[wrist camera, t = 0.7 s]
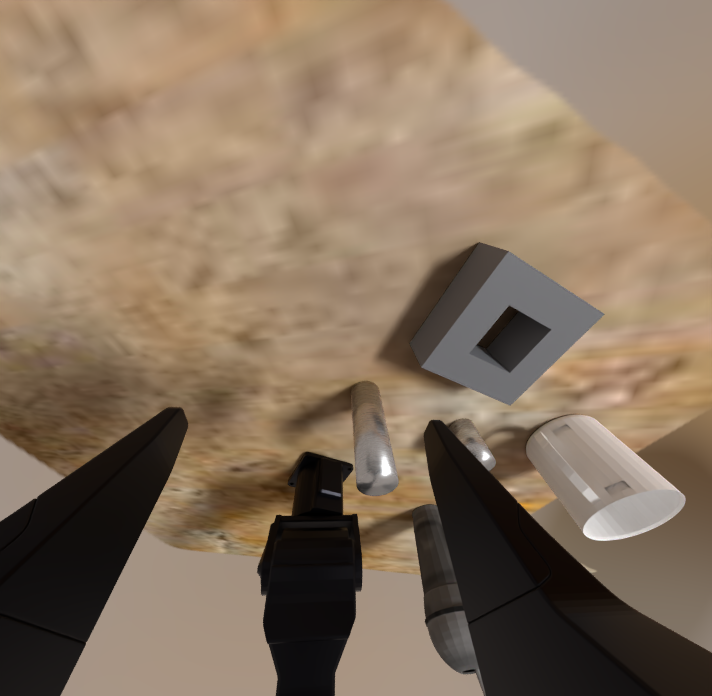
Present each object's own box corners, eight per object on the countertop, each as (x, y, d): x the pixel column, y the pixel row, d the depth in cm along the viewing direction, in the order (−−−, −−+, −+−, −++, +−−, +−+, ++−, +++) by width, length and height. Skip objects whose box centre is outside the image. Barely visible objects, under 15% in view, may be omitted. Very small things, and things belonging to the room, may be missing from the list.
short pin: (462, 439, 32) (482, 477, 27) (443, 432, 31) (460, 470, 26) (478, 423, 30) (502, 460, 26) (459, 415, 30) (479, 452, 25)
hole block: (488, 379, 27) (510, 405, 24) (409, 343, 24) (421, 367, 21) (564, 296, 23) (604, 314, 19) (479, 242, 20) (508, 251, 17)
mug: (608, 435, 33) (696, 511, 25) (543, 470, 36) (602, 548, 28) (569, 387, 28) (660, 462, 20) (498, 432, 31) (554, 513, 23)
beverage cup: (406, 500, 38) (464, 756, 20) (455, 498, 38) (551, 746, 21) (400, 526, 41) (445, 762, 24) (444, 524, 42) (520, 753, 24)
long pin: (370, 406, 28) (385, 499, 19) (345, 398, 27) (349, 490, 19) (384, 386, 27) (406, 476, 18) (358, 377, 26) (369, 466, 17)
